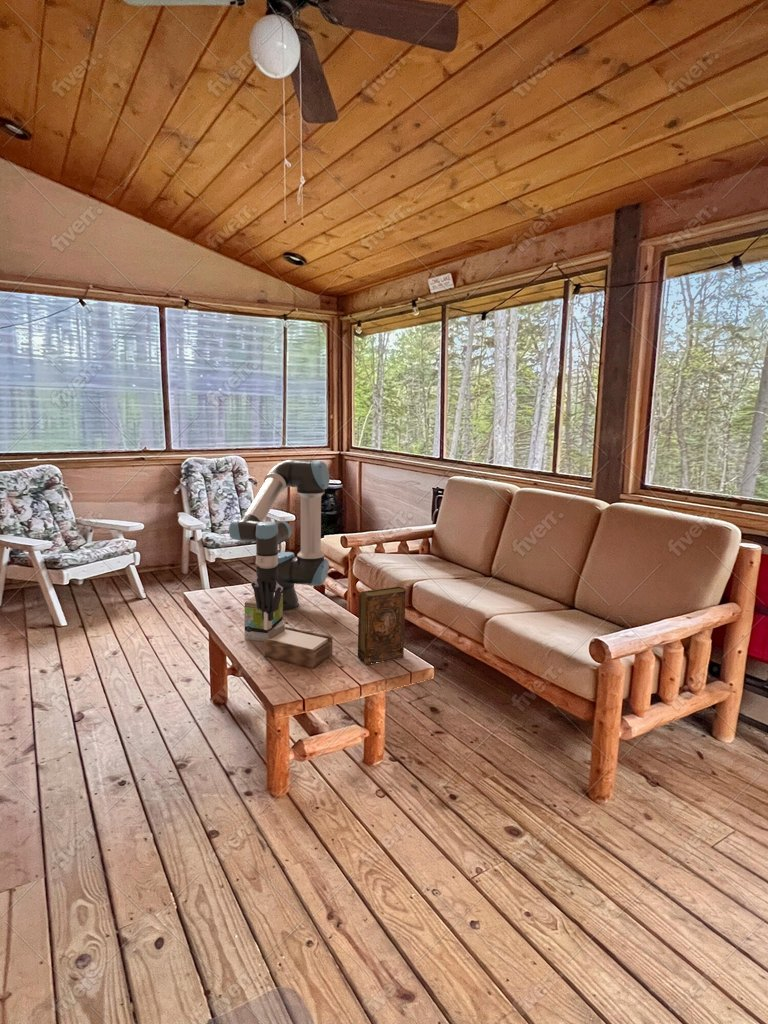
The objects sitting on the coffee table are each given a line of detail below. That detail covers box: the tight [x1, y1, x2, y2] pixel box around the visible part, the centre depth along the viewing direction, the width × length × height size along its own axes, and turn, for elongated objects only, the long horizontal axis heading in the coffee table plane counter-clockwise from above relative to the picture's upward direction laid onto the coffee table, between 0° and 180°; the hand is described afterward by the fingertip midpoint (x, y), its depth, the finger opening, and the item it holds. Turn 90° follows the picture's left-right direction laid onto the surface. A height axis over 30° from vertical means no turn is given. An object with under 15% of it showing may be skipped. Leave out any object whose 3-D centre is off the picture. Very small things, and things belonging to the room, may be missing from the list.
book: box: [357, 586, 407, 666], centre depth 205 cm, size 16×6×25 cm, turn 118°
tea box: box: [243, 593, 284, 642], centre depth 226 cm, size 15×10×15 cm, turn 168°
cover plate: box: [268, 623, 328, 651], centre depth 207 cm, size 18×11×4 cm, turn 65°
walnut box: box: [263, 626, 334, 670], centre depth 207 cm, size 20×13×7 cm, turn 65°
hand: (267, 628), depth 212 cm, fingers closed
